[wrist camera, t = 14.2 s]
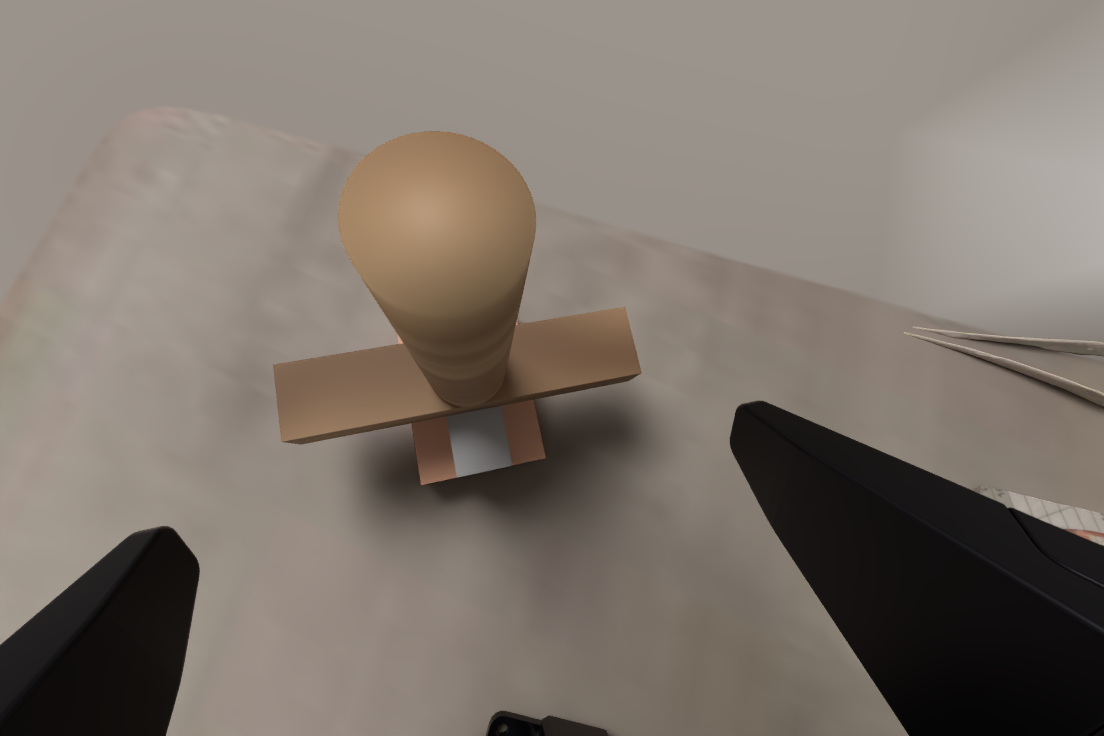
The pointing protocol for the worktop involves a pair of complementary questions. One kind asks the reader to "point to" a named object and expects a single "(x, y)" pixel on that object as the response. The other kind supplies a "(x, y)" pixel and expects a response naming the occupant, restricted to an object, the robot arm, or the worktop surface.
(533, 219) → the wooden stamp
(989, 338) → the pair of ivory hairpins
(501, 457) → the fulcrum stand
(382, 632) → the worktop surface
